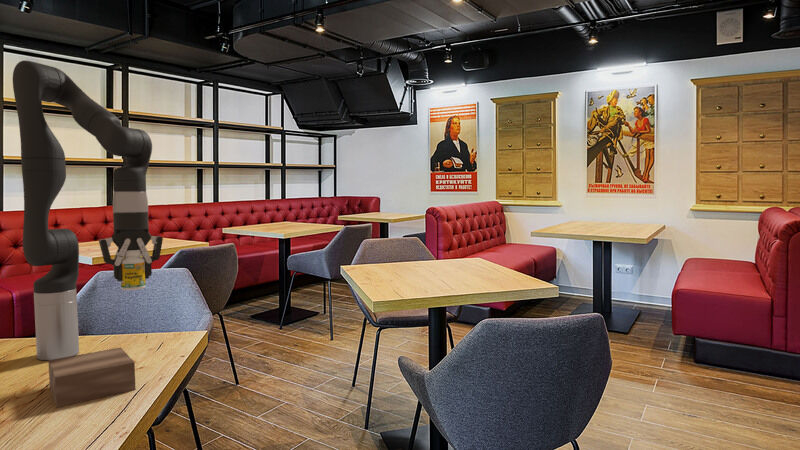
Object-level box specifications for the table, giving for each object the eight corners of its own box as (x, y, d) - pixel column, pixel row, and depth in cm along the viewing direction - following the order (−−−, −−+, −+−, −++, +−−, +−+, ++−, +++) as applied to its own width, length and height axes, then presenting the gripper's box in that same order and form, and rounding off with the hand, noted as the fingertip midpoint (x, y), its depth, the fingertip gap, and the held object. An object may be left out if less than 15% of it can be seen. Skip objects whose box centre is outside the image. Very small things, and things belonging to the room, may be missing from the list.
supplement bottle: (144, 286, 126) (143, 248, 126) (147, 289, 122) (146, 250, 121) (120, 288, 123) (118, 249, 123) (121, 291, 119) (120, 251, 118)
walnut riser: (49, 387, 109) (48, 360, 109) (121, 372, 118) (120, 347, 118) (56, 407, 98) (55, 377, 98) (135, 389, 107) (134, 362, 107)
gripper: (158, 209, 129) (160, 274, 130) (93, 210, 120) (96, 280, 121) (166, 210, 123) (168, 278, 124) (99, 211, 114) (102, 285, 115)
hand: (133, 279), depth 123 cm, fingers closed on supplement bottle, 5 cm apart
